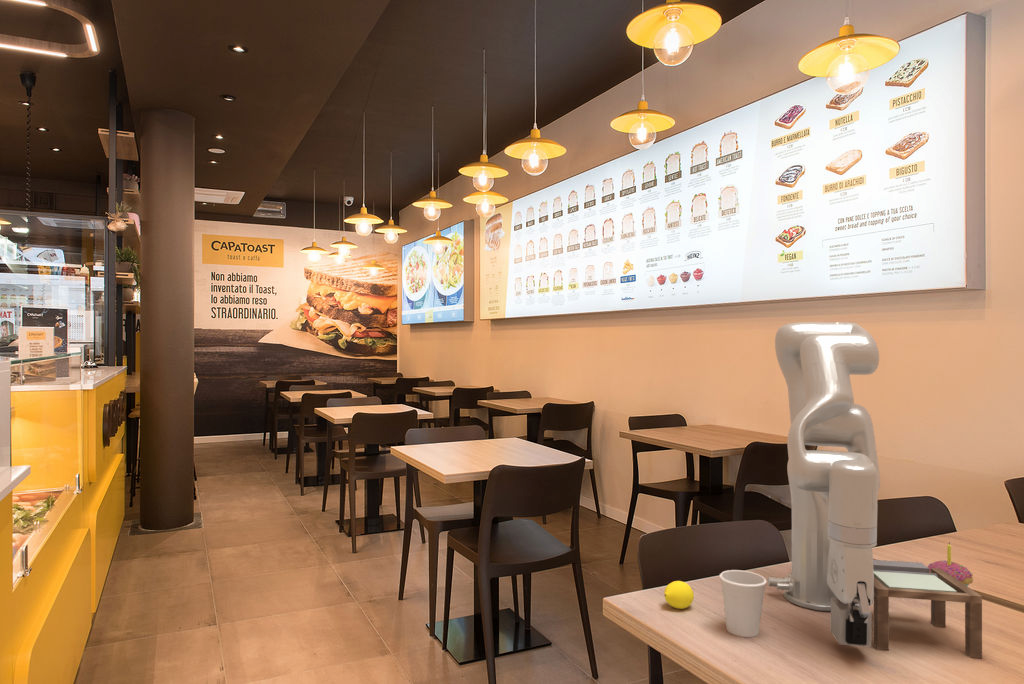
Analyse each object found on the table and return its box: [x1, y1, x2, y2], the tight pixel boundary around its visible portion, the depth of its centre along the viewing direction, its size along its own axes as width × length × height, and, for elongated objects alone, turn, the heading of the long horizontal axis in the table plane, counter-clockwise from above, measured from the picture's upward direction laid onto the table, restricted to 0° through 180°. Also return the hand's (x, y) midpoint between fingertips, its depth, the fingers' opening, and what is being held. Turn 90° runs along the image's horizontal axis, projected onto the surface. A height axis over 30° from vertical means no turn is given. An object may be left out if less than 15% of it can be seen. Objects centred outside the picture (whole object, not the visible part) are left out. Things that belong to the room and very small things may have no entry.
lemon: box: [663, 580, 695, 610], centre depth 132 cm, size 7×5×5 cm
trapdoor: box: [873, 559, 957, 593], centre depth 122 cm, size 12×14×3 cm
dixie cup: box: [719, 569, 768, 638], centre depth 122 cm, size 8×8×10 cm
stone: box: [830, 598, 873, 648], centre depth 113 cm, size 5×5×6 cm
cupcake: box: [927, 541, 974, 587], centre depth 142 cm, size 9×8×12 cm
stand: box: [857, 568, 983, 659], centre depth 120 cm, size 17×15×11 cm
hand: (850, 634), depth 113 cm, fingers closed on stone, 5 cm apart
